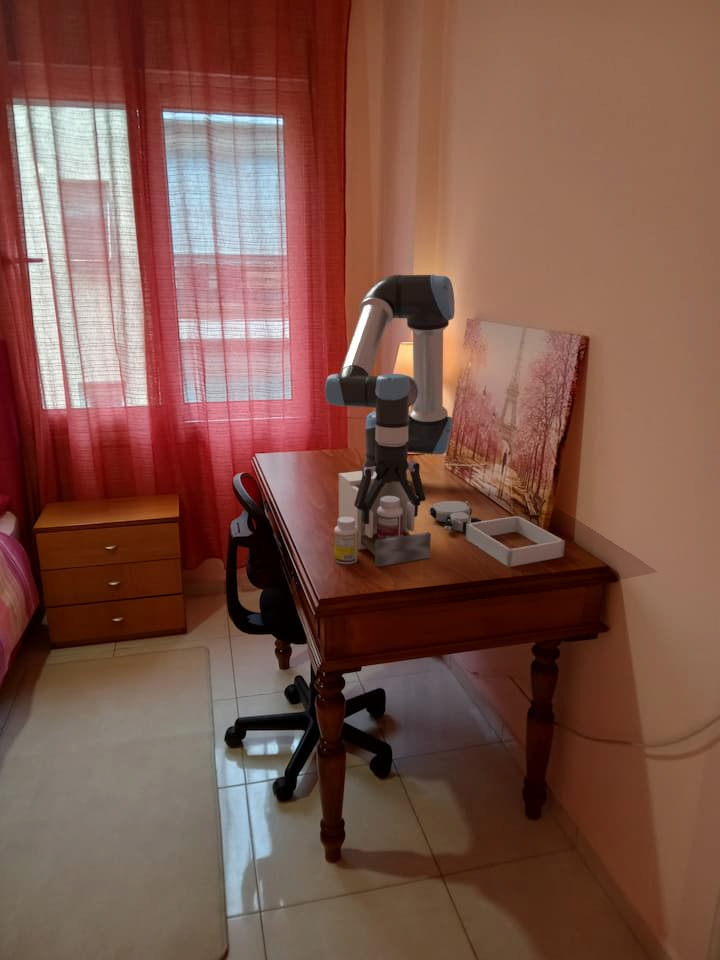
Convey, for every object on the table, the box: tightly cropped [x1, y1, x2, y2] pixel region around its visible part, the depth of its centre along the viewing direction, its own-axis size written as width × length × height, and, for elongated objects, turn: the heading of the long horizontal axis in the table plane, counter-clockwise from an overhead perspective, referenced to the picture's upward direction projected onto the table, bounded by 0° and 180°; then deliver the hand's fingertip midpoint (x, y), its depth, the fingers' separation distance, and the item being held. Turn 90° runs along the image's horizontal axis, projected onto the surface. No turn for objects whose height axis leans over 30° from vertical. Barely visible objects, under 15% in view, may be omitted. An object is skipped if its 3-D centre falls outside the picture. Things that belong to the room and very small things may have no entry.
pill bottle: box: [377, 496, 403, 540], centre depth 163 cm, size 6×6×11 cm
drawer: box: [362, 530, 432, 568], centre depth 162 cm, size 14×12×6 cm
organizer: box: [465, 515, 566, 568], centre depth 167 cm, size 16×19×4 cm
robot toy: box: [425, 500, 482, 532], centre depth 182 cm, size 12×4×15 cm
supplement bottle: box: [333, 517, 359, 565], centre depth 158 cm, size 6×6×10 cm
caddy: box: [338, 470, 411, 551], centre depth 171 cm, size 14×12×16 cm
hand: (389, 532), depth 163 cm, fingers open, 10 cm apart
